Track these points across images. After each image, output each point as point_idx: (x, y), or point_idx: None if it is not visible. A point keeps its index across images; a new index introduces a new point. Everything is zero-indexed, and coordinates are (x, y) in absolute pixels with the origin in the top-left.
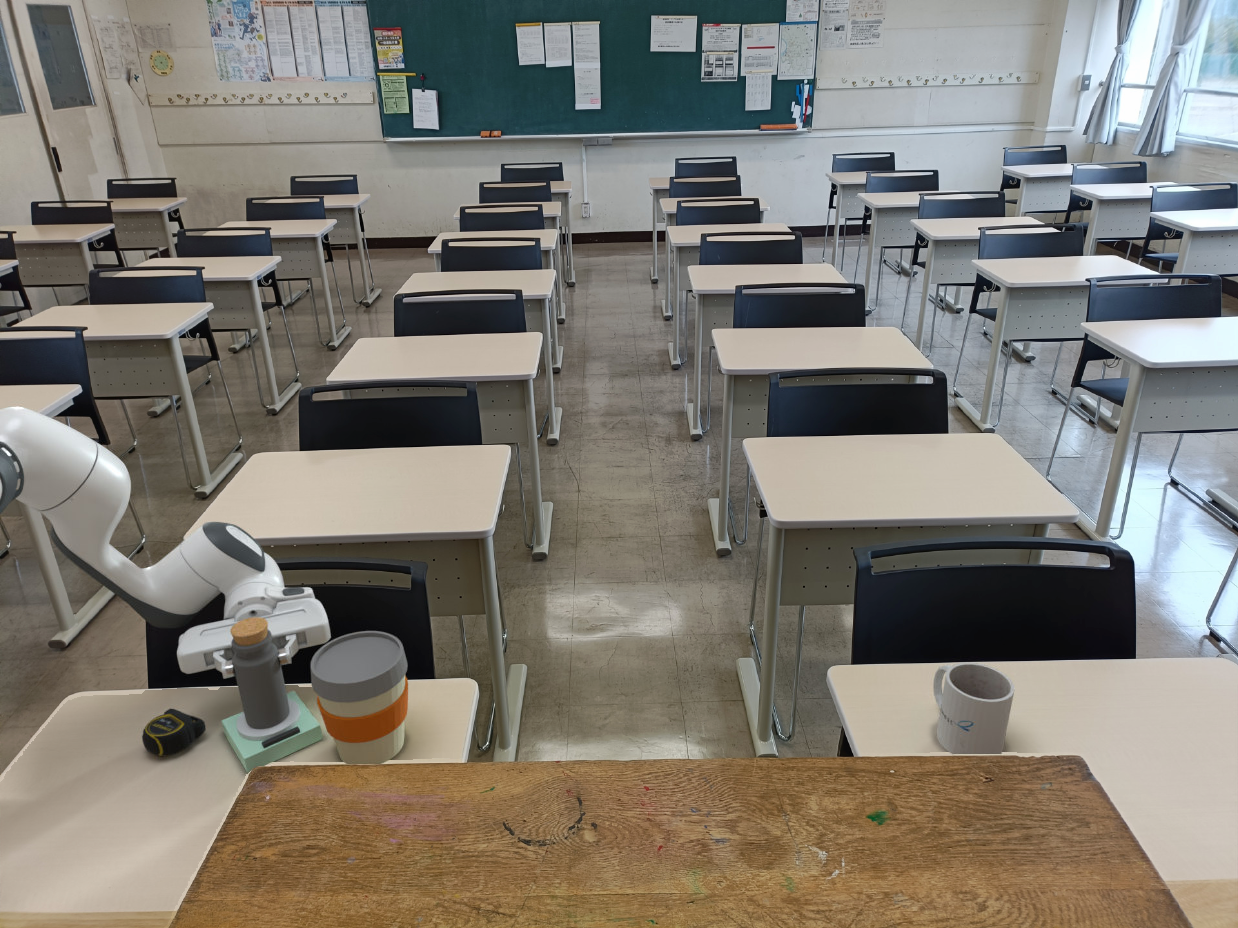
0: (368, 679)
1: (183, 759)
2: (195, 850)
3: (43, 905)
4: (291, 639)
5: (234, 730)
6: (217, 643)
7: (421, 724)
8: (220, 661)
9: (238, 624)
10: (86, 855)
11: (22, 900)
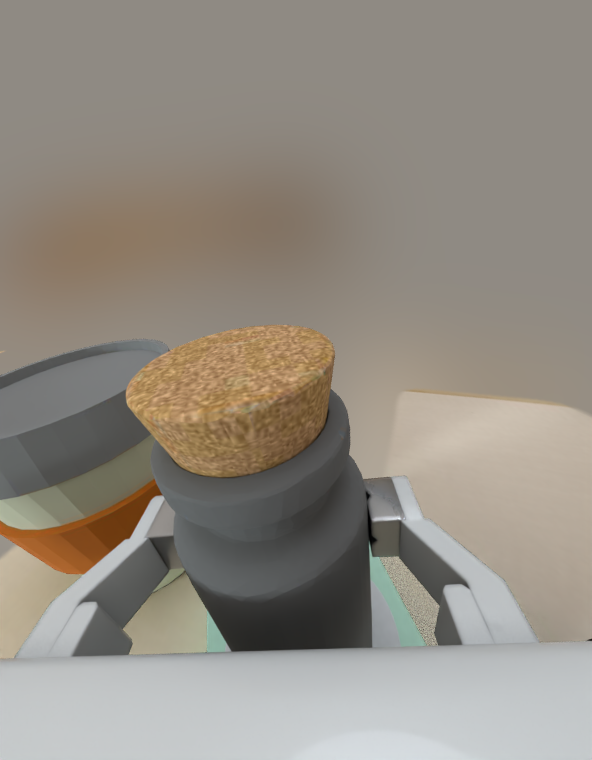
0: (111, 342)
1: None
2: (395, 431)
3: (537, 407)
4: (78, 594)
5: (405, 637)
6: (544, 688)
7: None
8: (432, 524)
9: (286, 370)
10: (546, 449)
11: (574, 415)
